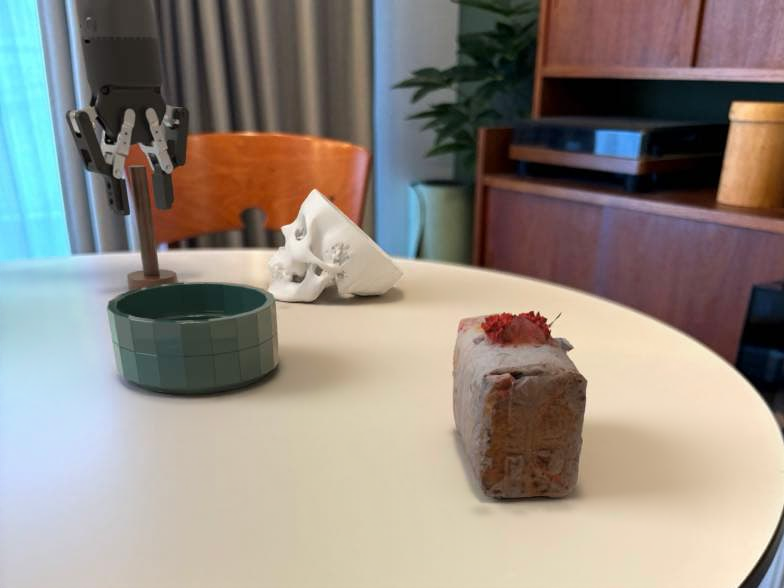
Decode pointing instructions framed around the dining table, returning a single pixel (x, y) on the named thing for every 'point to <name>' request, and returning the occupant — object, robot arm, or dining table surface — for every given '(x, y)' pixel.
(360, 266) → the skull bowl
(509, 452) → the food item
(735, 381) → the dining table surface
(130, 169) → the brown masher
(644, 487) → the dining table surface
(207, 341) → the mixing bowl
